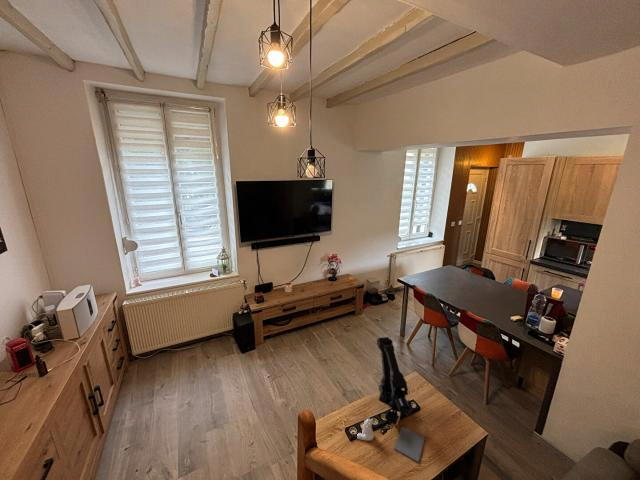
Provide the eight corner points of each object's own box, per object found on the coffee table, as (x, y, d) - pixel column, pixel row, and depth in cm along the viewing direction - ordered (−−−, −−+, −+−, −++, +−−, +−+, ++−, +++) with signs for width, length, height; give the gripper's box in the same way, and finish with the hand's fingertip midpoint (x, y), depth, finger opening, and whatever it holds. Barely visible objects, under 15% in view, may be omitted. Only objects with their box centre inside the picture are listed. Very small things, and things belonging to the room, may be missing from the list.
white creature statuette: (362, 424, 149) (363, 407, 145) (377, 433, 144) (378, 416, 141) (354, 437, 141) (355, 420, 138) (369, 447, 137) (370, 430, 133)
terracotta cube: (388, 421, 150) (389, 414, 149) (391, 414, 154) (392, 407, 153) (397, 425, 148) (398, 418, 146) (399, 418, 152) (400, 412, 150)
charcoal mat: (394, 449, 136) (394, 447, 135) (401, 427, 147) (402, 426, 147) (418, 463, 129) (418, 461, 129) (424, 439, 141) (424, 437, 140)
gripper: (406, 417, 135) (403, 440, 139) (415, 391, 150) (412, 413, 154) (385, 406, 141) (383, 429, 145) (396, 383, 156) (394, 404, 160)
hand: (394, 418), depth 151 cm, fingers closed on terracotta cube, 5 cm apart
